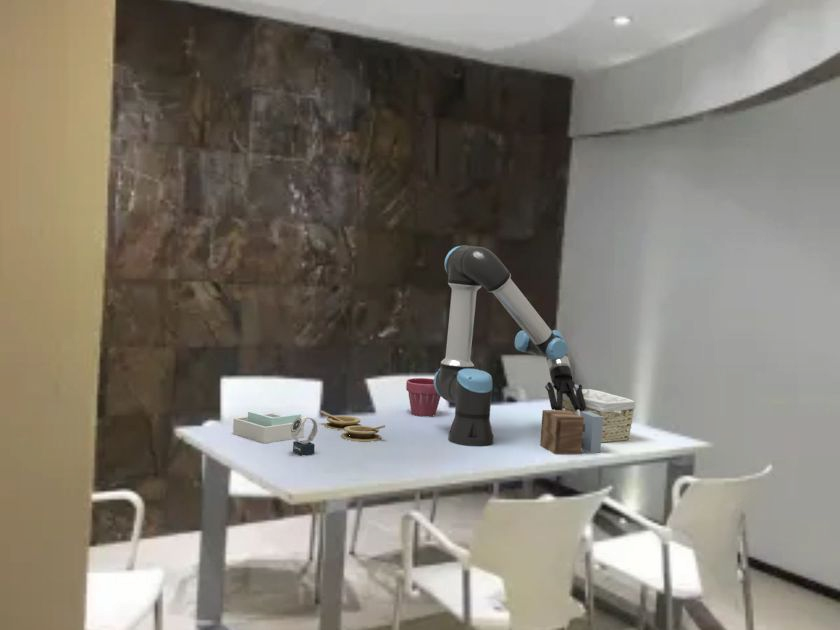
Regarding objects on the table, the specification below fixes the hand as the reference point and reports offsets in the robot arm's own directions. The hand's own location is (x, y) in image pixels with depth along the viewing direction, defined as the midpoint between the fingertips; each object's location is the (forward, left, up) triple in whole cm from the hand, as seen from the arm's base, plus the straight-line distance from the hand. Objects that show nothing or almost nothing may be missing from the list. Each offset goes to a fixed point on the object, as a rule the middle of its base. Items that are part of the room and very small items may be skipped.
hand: (573, 427), depth 314 cm
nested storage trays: (-81, +63, -5) cm, 103 cm away
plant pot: (-9, +60, -6) cm, 61 cm away
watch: (-87, +39, -5) cm, 96 cm away
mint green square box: (-80, +62, -6) cm, 101 cm away
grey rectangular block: (-4, -9, -5) cm, 11 cm away
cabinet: (-13, -4, -5) cm, 14 cm away
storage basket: (+18, +2, -6) cm, 19 cm away
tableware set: (-54, +53, -6) cm, 76 cm away
